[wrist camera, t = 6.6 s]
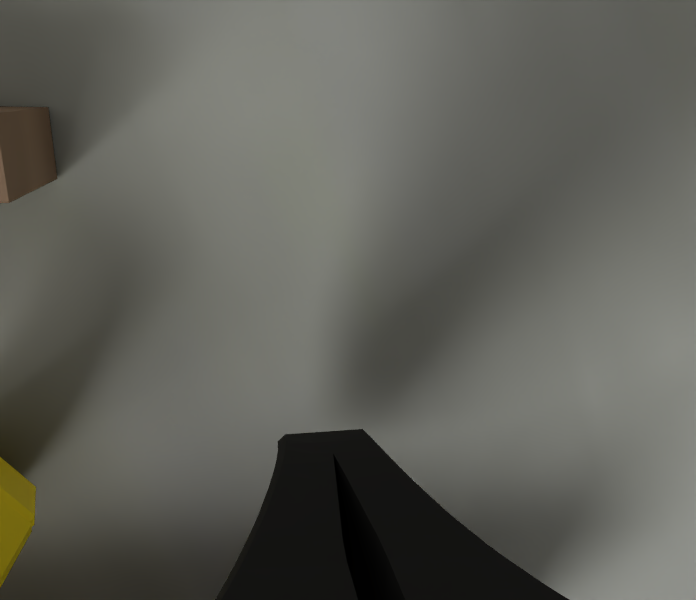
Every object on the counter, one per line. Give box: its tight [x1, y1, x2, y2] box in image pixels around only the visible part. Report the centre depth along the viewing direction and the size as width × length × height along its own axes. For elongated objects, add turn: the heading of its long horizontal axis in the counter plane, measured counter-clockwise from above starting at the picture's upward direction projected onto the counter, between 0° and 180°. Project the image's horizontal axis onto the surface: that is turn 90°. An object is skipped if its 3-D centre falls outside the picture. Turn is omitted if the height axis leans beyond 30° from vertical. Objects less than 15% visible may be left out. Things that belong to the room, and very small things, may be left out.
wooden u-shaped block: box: [0, 106, 57, 203], centre depth 9 cm, size 16×12×4 cm
